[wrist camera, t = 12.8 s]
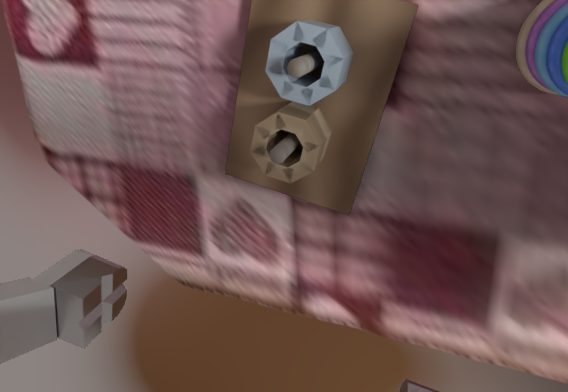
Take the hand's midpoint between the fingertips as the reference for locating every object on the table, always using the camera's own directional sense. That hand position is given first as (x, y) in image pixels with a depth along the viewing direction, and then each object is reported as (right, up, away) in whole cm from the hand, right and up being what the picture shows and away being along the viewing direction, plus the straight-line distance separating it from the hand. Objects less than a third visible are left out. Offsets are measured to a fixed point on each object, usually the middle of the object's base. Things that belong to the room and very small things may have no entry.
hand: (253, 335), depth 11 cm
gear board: (+3, +13, +29) cm, 32 cm away
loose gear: (+4, +16, +25) cm, 30 cm away
